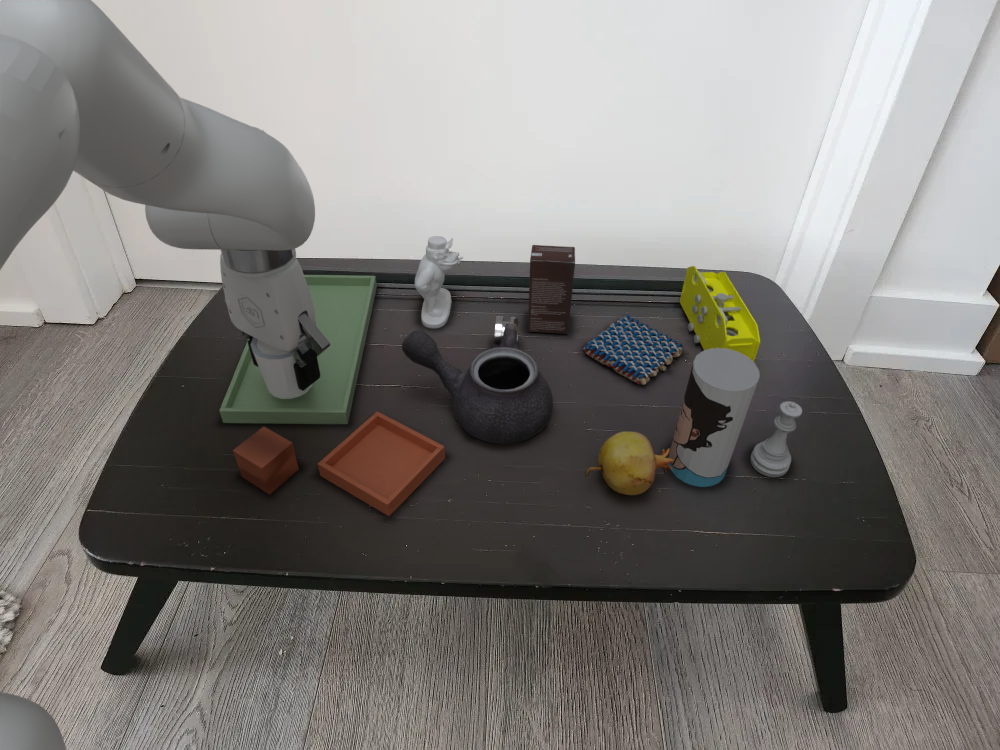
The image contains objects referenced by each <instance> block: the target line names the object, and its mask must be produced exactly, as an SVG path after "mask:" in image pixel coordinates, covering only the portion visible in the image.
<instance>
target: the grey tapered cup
mask: <svg viewBox="0 0 1000 750" xmlns="http://www.w3.org/2000/svg"><path fill="white" fill-rule="evenodd" d="M300 334H301V333H300ZM251 348H252V351H253V354H254V356H255V359H256V361H257V364H258V366H259V369H260V371H261V374H262V376H263V379H264V381H265V384H266V386H267V389H268V391H269V393H270V394H272V395H273V396H274V397H277V398H281V399H292V398H296V397H299V396H301V395H303V394H305V393H306V392H308V391H309V389H310V388H311V387H312V385H310V386H309V387H308V388H306V389H305V390H304V391H302V390H300V389H299V388H298V385H297V380H296V376H295V371H294V367H293V365H294V364H295V363H296V361H295V359H294V357H293V356H292V354H291V352H285V351H281V350H279V349H276V348H274V347H272V346H270V345H268V344H266V343H264V342H262V341H260V340H258V339H256V338H254V337H253V339H252V342H251ZM298 348H299V349H300V351H301V353H302V354H303V353H305V352H306V351H308V348H307V346H306V344H305V343H304V341H303V342H302V343H300V344H299V345H298Z"/></svg>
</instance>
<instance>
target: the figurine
mask: <svg viewBox="0 0 1000 750" xmlns="http://www.w3.org/2000/svg"><path fill="white" fill-rule="evenodd" d="M453 241H454V238H453V237H452V238H451V239H449V241H447V238H445V237H443V236H441V235H433V236H430V237H428V239H427V245H426V247H425V254H424V255H423V256H422V258H421V259H420V262H419V264H418V268H417V271H416V273H415V277H414V288H415V289H416V292H417V293H418V294H419V295H420V296H421V297H422V298H423V302H422V308H421V313H420V319H421V323H422V325H423V326H424V327H426V328H428V329H440V328H442V327H444V326H445V325H446V323H447V322H448V320H449V317H450V314H451V309H452V295H451V292H450V290H448V289H446V288H443V287H442V286H443V284H444V282H445V279H446V278H445V275H446V272H450V271H451V270H453V269H455V268H456V266H459V265H460V263H461V260H462V259H464V256H460V253H459V252H458V251H450V249H451V248H452V247H453V246H454V245H453V243H454V242H453Z"/></svg>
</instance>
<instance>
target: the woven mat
mask: <svg viewBox="0 0 1000 750" xmlns="http://www.w3.org/2000/svg"><path fill="white" fill-rule="evenodd" d="M683 347H684V345H683V344H682V343H681V342H680V343H679V342H678V340H677V339H674V340H673V338H672V337H668V334H665V333H664V335H663V333H662V332H659V330H658V329H654V328H652V327H649V325H648V324H645V325H644V323H643V322H640V320H639V319H638V318H637V319H636V320H635V318H633V317H631V315H630V314H627V315H626V316H625V317H622V316H621V317H620V319H619V320H616V322H615V323H613V322H612V323H611V324H610V326H609V327H608V328H607V330H602V332H600V334H597V336H595V338H593V339H591V340H589V341H588V342H587V345H586V346H583V352H584V353H585V354H586V355H587V356H589V357H590V358H592V359H593V360H595V361H597V362H598V363H600V364H602V365H604V366H607V367H608V368H612V369H613V370H614V371H615V372H616V373H617V374H619V375H621V376H623V378H626V379H628V380H630V381H632V382H634V383H636V384H637V385H641V386H644V385H646V384H647V383H649V381H650V380H651V378H652V377H656V376H657V374H658V373H659V372H660V371H663V372H665V371H667V366H668V365H670V364H672V362H673V361H674V358H679V357H680V356H681V355H682V353H683V351H682V350H683ZM665 365H666V366H665ZM650 377H651V378H650Z"/></svg>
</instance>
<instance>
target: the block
mask: <svg viewBox="0 0 1000 750" xmlns="http://www.w3.org/2000/svg"><path fill="white" fill-rule="evenodd" d="M232 452H233V455H234V458H235V461H236V464H237V467H238V470H239V473H240V476H241V478H242V479H244V480H246V481H247V482H249V483H251V484H252V485H254V487H257V488H258V489H260V490H262V491H263V492H265V493H266V494H267V495H271V494H272V493H274V491H276V490H277V489H278V488H279V487H281V486H282V485H283V484H284V483H285V482H286V481H287V480H289V479H290V478H291V477H292V476H293V475H295V474H296V472H298V471H299V470H300V468H299V463H298V460H297V457H296V452H295V448H294V444H293V442H292V441H290V440H288V439H287V438H285V437H283V436H281V435H279V434H278V433H276V432H275V431H273V430H271V429H269V428H268V427H266V426H262V427H261V428H259V429H258V430H257V431H256V432H254V433H253V434H252V435H251V436H250V437H248V438H247V439H245V440H244V441H243V442H242V443H241V444H240V445H238V446H236V447H235V448H234V449H233V450H232Z"/></svg>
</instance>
